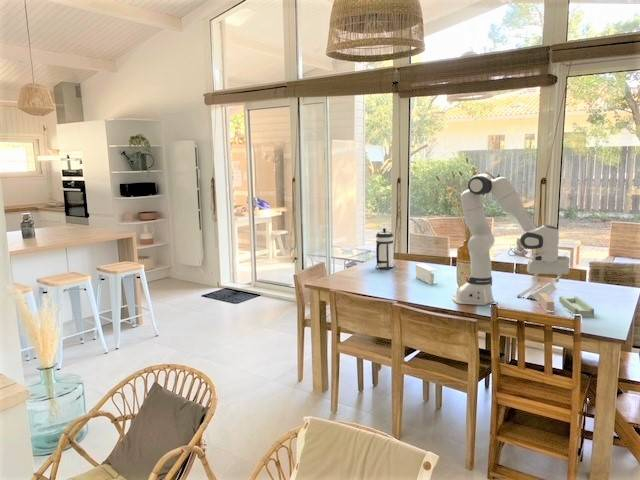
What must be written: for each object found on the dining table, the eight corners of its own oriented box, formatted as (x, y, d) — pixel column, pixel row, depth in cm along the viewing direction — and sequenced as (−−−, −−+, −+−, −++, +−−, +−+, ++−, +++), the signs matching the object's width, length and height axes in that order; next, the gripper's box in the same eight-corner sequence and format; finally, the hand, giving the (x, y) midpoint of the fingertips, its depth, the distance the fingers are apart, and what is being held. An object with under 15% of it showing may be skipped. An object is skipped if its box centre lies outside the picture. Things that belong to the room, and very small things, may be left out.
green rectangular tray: (574, 316, 244) (574, 308, 243) (559, 303, 265) (559, 296, 265) (593, 316, 243) (594, 308, 242) (576, 303, 264) (576, 296, 264)
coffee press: (371, 266, 372) (370, 227, 367) (392, 264, 373) (391, 226, 368) (376, 271, 355) (376, 231, 350) (398, 270, 356) (397, 229, 351)
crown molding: (536, 286, 302) (536, 280, 301) (556, 289, 294) (557, 283, 293) (516, 298, 280) (516, 292, 279) (537, 301, 272) (538, 295, 271)
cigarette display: (436, 283, 316) (436, 269, 314) (429, 284, 315) (429, 270, 313) (422, 276, 335) (422, 263, 333) (415, 277, 334) (414, 264, 332)
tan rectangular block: (546, 313, 251) (546, 301, 250) (538, 303, 267) (538, 293, 266) (553, 313, 251) (554, 302, 250) (545, 303, 266) (545, 293, 265)
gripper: (567, 254, 254) (566, 280, 256) (526, 255, 257) (525, 280, 259) (572, 257, 248) (570, 283, 250) (529, 257, 251) (528, 283, 253)
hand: (547, 281), depth 255 cm, fingers open, 8 cm apart
